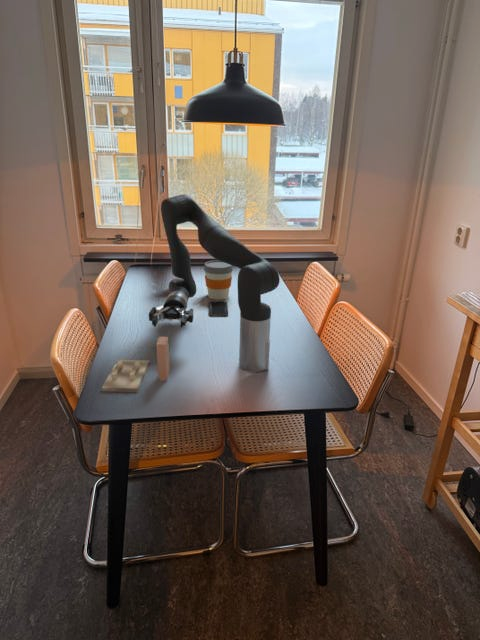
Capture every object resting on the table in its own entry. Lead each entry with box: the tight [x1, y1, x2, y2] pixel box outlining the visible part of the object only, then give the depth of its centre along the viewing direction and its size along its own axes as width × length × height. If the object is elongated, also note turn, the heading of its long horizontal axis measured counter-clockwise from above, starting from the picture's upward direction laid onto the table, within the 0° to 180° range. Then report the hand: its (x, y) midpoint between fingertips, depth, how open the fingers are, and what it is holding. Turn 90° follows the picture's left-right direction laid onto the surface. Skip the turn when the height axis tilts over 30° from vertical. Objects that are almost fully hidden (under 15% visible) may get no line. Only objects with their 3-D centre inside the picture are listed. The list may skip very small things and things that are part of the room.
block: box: [156, 336, 171, 382], centre depth 126 cm, size 5×2×12 cm, turn 179°
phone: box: [208, 300, 229, 318], centre depth 178 cm, size 8×1×15 cm
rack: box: [101, 359, 150, 393], centre depth 127 cm, size 16×10×3 cm, turn 179°
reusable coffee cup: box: [203, 259, 234, 301], centre depth 189 cm, size 13×13×15 cm
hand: (168, 324), depth 134 cm, fingers open, 8 cm apart
